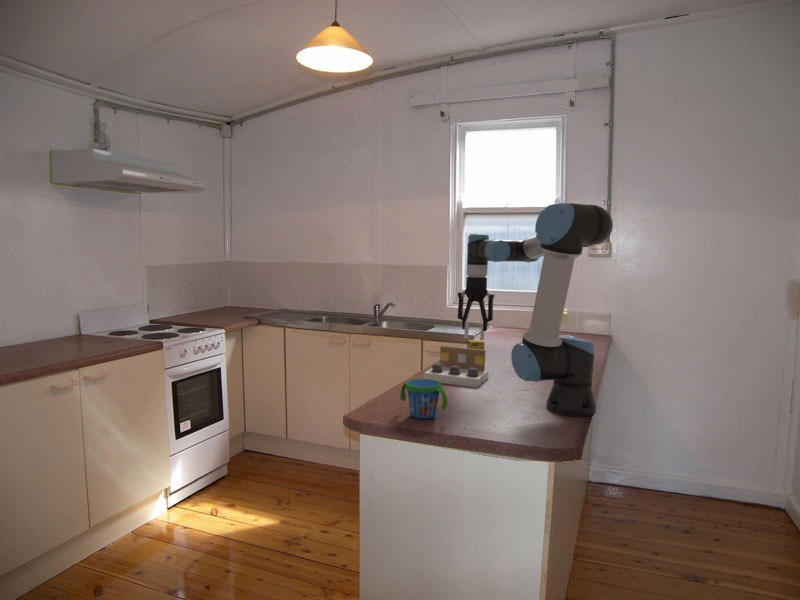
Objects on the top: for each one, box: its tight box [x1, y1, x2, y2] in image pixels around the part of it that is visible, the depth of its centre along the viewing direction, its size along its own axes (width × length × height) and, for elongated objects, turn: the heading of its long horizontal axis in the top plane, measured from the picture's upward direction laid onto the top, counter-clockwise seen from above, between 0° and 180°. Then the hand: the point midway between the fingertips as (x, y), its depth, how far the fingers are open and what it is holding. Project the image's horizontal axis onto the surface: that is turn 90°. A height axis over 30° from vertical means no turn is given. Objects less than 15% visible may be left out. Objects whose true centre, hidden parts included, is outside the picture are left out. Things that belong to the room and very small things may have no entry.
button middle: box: [450, 366, 460, 375], centre depth 209 cm, size 4×4×4 cm
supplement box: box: [466, 339, 485, 350], centre depth 236 cm, size 6×6×11 cm
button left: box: [431, 363, 442, 373], centre depth 211 cm, size 4×4×4 cm
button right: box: [468, 368, 478, 377], centre depth 206 cm, size 4×4×4 cm
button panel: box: [423, 345, 490, 388], centre depth 211 cm, size 16×21×11 cm
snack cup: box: [399, 378, 448, 420], centre depth 165 cm, size 16×10×10 cm
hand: (474, 338), depth 205 cm, fingers open, 5 cm apart
